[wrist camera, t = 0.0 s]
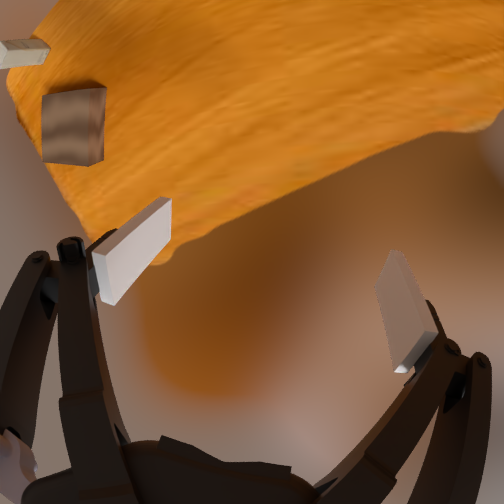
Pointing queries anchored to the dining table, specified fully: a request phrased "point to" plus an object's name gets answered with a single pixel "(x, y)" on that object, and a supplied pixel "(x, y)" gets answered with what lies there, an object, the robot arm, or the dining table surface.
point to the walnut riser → (74, 127)
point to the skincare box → (22, 52)
